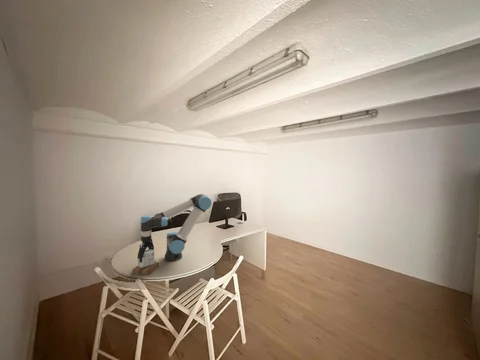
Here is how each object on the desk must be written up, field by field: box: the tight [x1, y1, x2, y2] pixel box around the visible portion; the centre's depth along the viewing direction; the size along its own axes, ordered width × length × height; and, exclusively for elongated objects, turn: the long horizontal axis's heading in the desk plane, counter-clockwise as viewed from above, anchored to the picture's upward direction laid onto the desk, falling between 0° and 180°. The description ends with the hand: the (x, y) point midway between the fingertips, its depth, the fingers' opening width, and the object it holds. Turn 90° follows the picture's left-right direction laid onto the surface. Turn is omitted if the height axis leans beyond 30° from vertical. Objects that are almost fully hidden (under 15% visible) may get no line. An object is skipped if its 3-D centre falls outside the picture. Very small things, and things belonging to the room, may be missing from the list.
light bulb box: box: [137, 249, 155, 268], centre depth 157 cm, size 11×7×11 cm, turn 141°
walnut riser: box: [131, 261, 160, 276], centre depth 157 cm, size 14×14×3 cm
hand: (146, 262), depth 157 cm, fingers closed on light bulb box, 12 cm apart
